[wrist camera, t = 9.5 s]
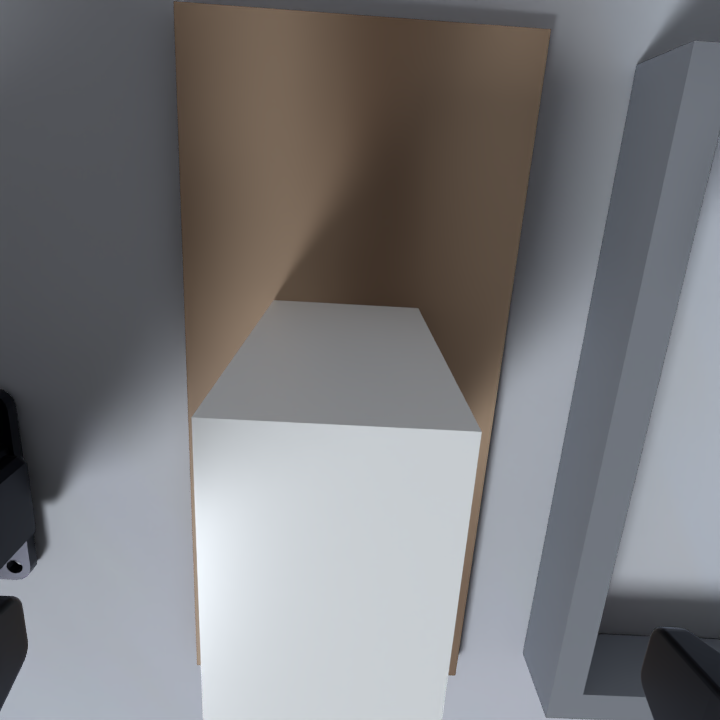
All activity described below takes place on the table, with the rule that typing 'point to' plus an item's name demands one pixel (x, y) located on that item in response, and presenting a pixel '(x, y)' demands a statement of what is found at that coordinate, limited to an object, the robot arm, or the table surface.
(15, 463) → the robot arm
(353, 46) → the walnut board
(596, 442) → the case
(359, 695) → the block
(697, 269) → the table surface
